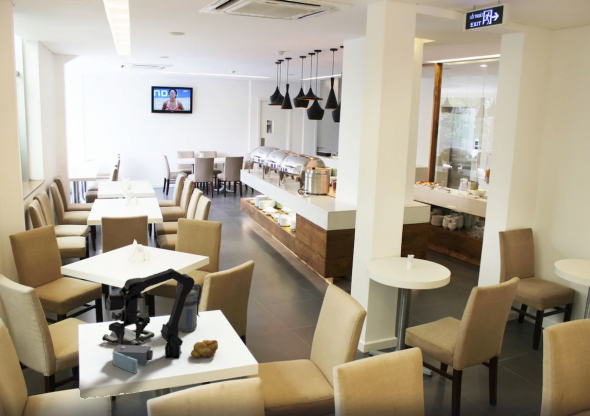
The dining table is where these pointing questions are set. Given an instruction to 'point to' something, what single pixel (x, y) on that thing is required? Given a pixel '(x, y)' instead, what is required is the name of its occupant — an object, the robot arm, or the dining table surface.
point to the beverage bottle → (190, 310)
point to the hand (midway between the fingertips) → (128, 341)
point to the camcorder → (129, 337)
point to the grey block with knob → (136, 353)
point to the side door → (125, 362)
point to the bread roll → (204, 349)
